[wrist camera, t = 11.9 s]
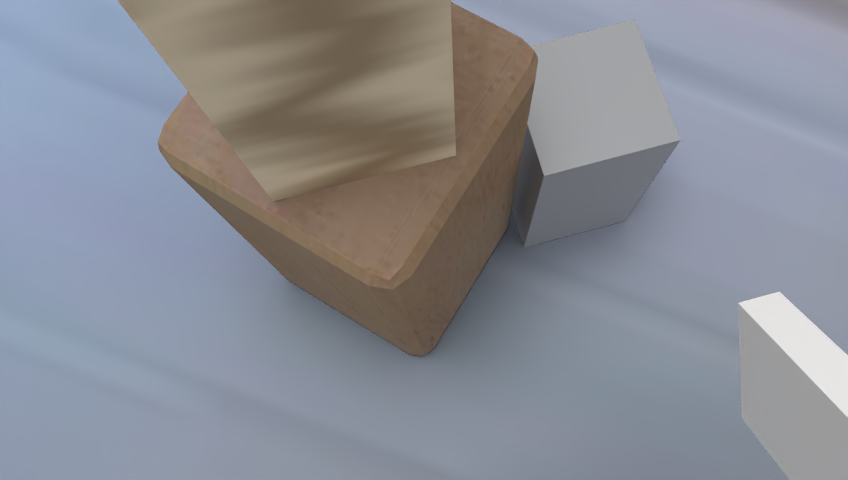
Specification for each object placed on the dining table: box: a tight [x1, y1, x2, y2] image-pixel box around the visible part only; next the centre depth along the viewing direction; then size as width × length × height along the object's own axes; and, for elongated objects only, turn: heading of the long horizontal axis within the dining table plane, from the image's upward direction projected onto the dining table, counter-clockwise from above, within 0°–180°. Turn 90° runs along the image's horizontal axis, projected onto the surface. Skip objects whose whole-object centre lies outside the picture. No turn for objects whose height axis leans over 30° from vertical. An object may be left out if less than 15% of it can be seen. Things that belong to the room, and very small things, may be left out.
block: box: [158, 2, 538, 356], centre depth 35 cm, size 10×10×20 cm
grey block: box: [512, 19, 680, 248], centre depth 39 cm, size 6×6×12 cm
